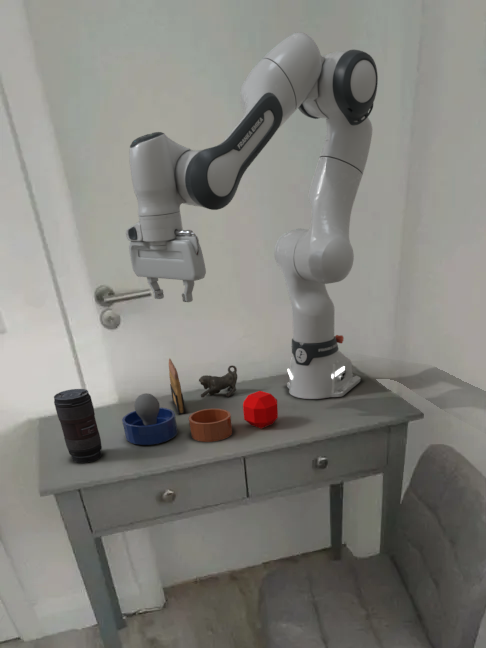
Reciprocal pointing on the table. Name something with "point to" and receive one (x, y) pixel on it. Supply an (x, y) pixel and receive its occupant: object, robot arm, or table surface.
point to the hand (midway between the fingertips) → (173, 300)
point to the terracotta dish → (210, 425)
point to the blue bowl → (150, 428)
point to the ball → (260, 409)
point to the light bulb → (147, 408)
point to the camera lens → (78, 424)
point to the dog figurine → (219, 383)
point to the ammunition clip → (176, 389)
